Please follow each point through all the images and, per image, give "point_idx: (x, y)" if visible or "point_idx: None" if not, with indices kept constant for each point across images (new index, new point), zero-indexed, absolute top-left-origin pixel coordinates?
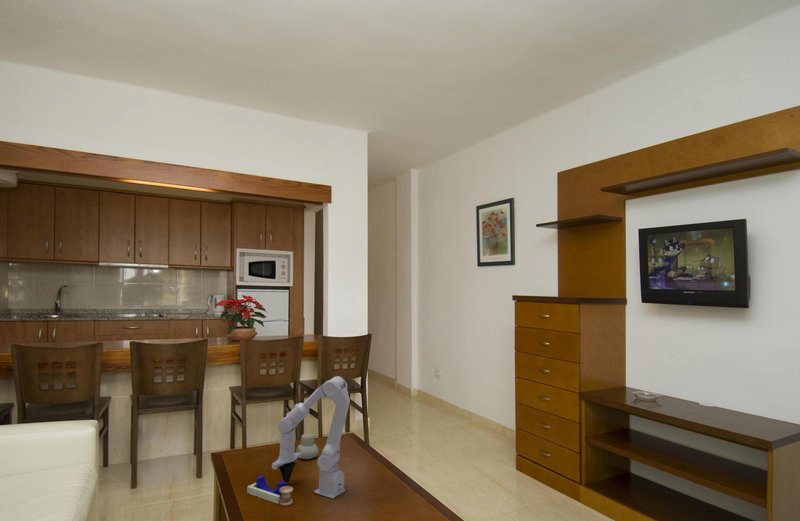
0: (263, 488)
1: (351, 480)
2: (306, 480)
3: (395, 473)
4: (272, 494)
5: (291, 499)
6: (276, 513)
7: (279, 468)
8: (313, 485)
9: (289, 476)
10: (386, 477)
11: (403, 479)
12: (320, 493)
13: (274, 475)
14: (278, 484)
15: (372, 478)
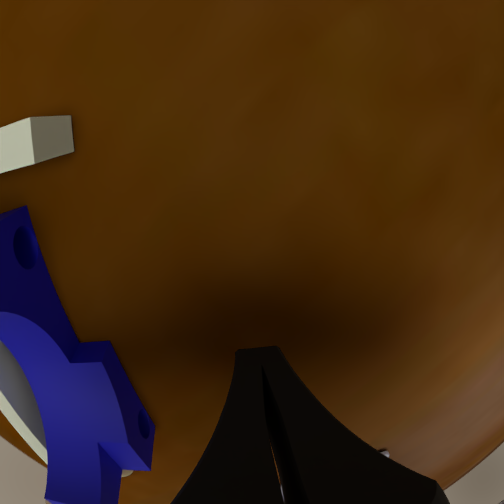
0: None
1: (453, 443)
2: (425, 349)
3: (498, 445)
4: (23, 433)
5: (128, 471)
6: (30, 455)
7: (177, 500)
8: (369, 422)
9: (272, 446)
10: (477, 456)
11: (466, 473)
12: (282, 495)
13: (393, 15)
14: (49, 497)
15: (471, 451)
